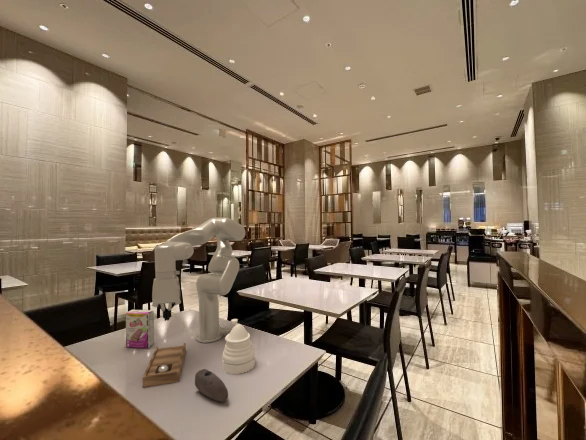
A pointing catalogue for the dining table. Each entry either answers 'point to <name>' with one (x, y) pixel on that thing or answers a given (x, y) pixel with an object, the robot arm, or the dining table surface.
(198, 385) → the perforated stone tool
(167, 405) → the dining table surface
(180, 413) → the dining table surface
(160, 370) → the ball
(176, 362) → the track
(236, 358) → the honey pot
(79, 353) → the dining table surface
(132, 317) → the candy bar box
